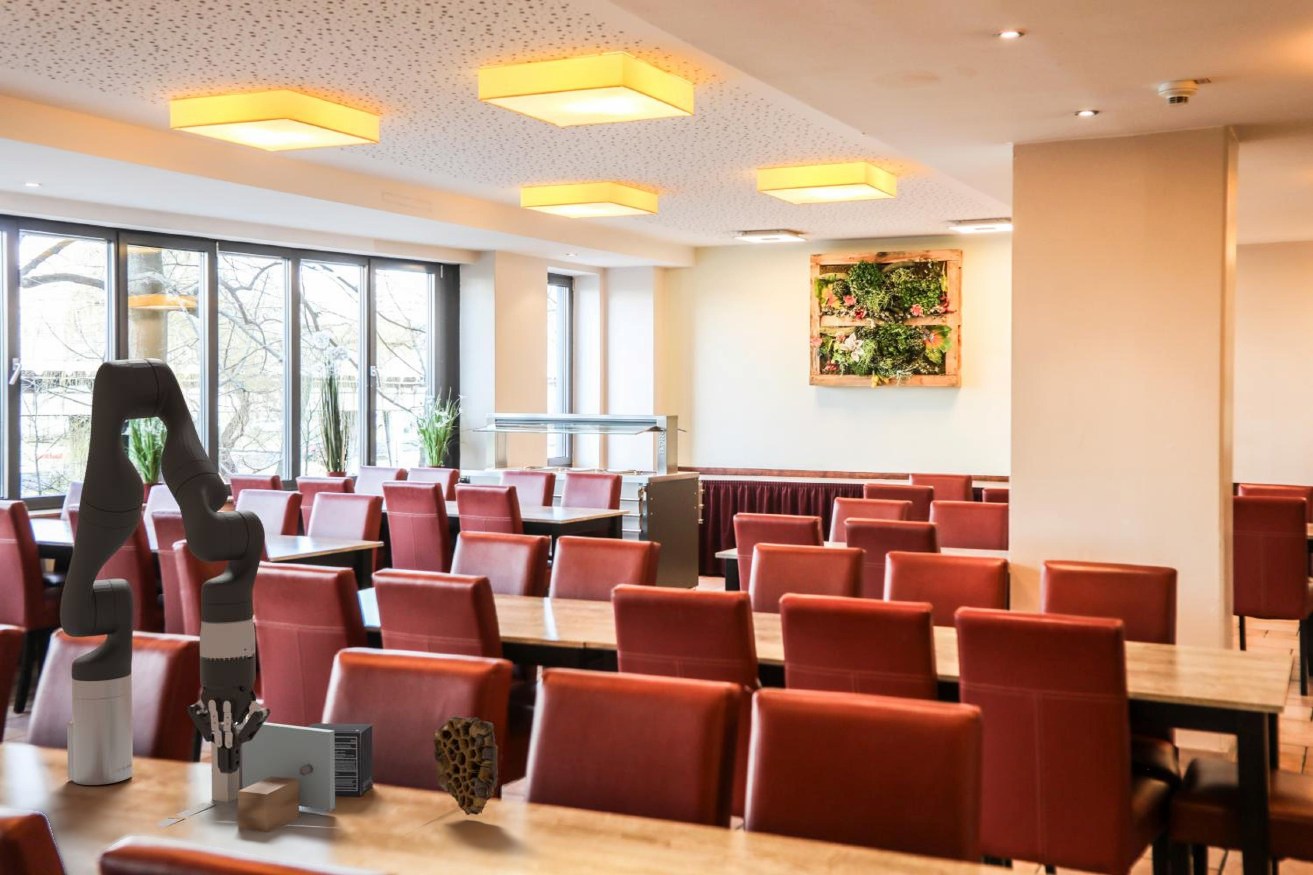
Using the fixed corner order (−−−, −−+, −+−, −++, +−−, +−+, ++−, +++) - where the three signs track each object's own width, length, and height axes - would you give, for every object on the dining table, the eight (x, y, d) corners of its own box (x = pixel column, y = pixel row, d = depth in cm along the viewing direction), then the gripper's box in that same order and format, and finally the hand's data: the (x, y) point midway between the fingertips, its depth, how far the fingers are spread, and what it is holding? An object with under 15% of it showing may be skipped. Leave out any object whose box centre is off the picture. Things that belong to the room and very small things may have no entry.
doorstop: (238, 831, 188) (238, 790, 188) (271, 814, 196) (270, 776, 196) (267, 834, 186) (266, 793, 186) (299, 818, 194) (298, 779, 194)
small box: (374, 785, 211) (374, 722, 211) (361, 797, 204) (361, 732, 204) (313, 783, 212) (312, 721, 212) (298, 795, 205) (297, 730, 205)
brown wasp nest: (425, 815, 195) (425, 718, 194) (437, 807, 199) (437, 712, 198) (495, 821, 192) (494, 722, 191) (505, 813, 196) (505, 716, 195)
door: (324, 812, 193) (323, 734, 193) (231, 799, 200) (230, 723, 200) (335, 808, 195) (334, 730, 195) (242, 794, 202) (242, 719, 202)
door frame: (114, 845, 182) (113, 747, 181) (254, 782, 213) (253, 698, 212) (131, 847, 181) (130, 749, 181) (269, 783, 212) (269, 700, 211)
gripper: (171, 653, 180) (173, 775, 180) (250, 658, 176) (252, 783, 176) (206, 644, 187) (207, 761, 187) (282, 648, 183) (284, 768, 183)
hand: (229, 771), depth 182 cm, fingers closed
